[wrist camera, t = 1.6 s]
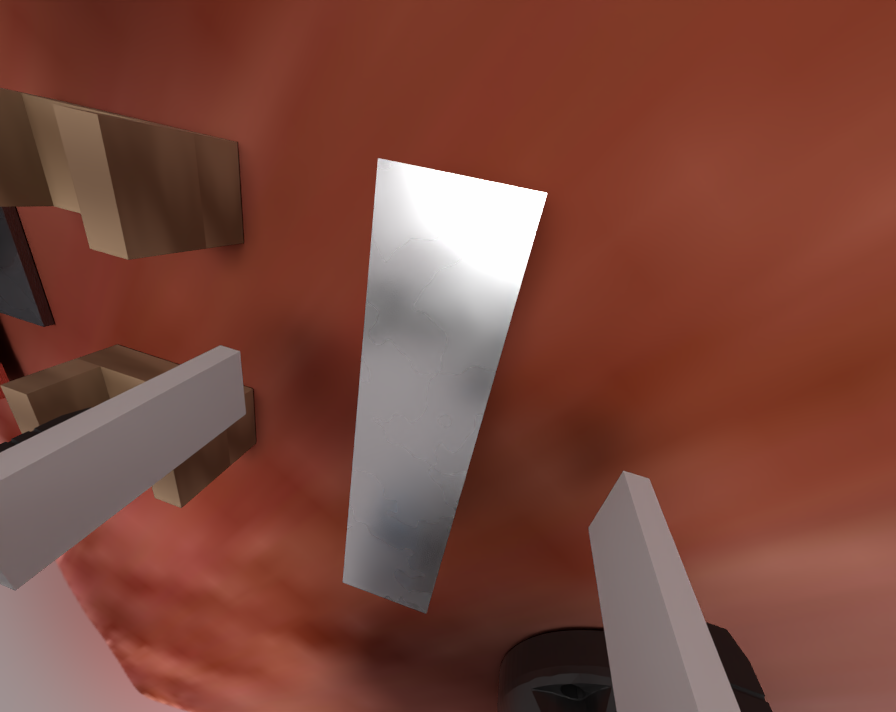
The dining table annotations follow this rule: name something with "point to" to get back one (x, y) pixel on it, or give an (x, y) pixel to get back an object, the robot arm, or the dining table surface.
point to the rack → (122, 242)
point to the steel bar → (428, 364)
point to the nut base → (19, 274)
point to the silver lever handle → (2, 380)
